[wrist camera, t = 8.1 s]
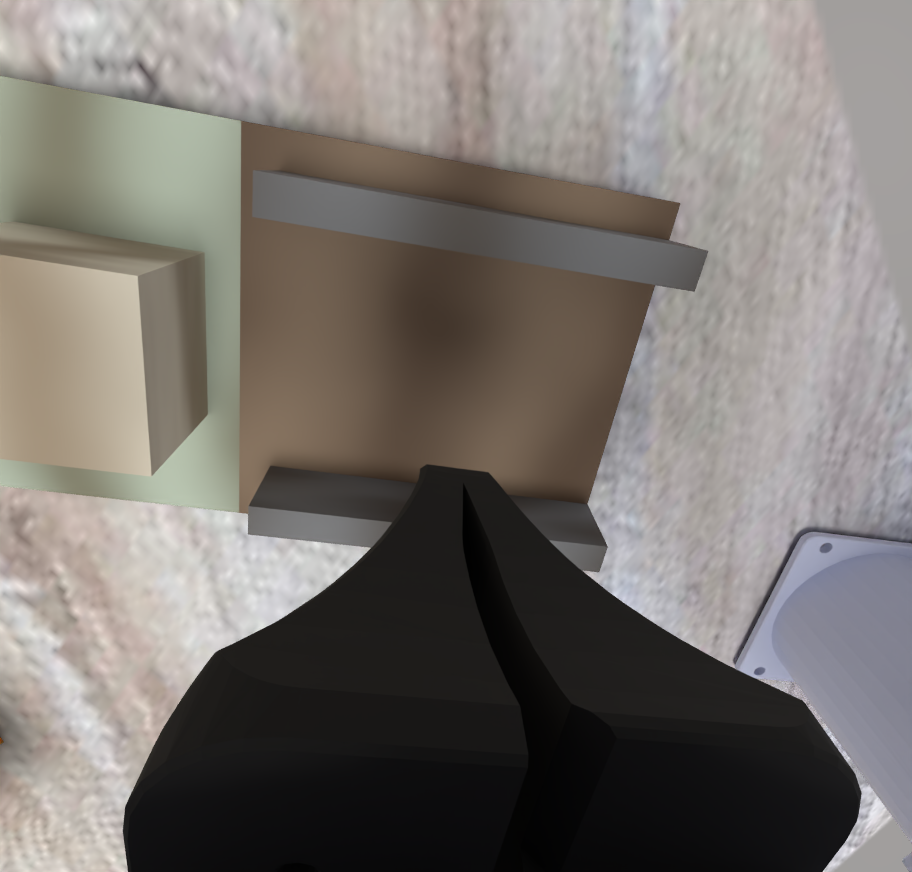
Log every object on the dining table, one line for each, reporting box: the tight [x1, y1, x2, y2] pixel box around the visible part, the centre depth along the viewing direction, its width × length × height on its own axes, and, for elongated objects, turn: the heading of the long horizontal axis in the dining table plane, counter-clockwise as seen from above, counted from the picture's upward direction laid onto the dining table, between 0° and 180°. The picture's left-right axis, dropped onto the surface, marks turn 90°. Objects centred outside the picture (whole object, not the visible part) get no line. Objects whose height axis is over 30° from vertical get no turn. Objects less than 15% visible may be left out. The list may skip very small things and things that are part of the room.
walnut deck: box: [0, 76, 708, 572], centre depth 16 cm, size 32×12×4 cm, turn 81°
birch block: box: [0, 221, 208, 477], centre depth 15 cm, size 5×5×4 cm
